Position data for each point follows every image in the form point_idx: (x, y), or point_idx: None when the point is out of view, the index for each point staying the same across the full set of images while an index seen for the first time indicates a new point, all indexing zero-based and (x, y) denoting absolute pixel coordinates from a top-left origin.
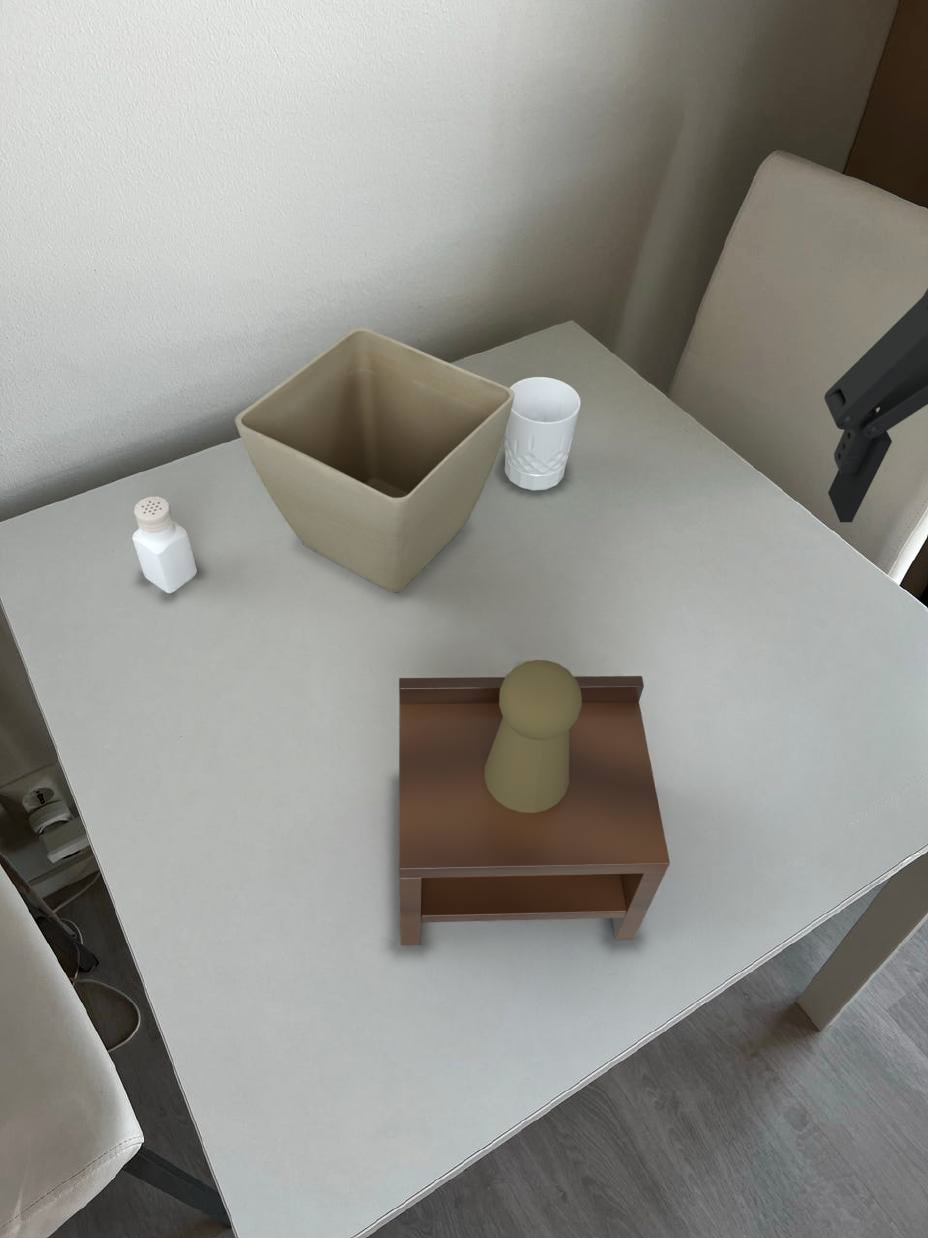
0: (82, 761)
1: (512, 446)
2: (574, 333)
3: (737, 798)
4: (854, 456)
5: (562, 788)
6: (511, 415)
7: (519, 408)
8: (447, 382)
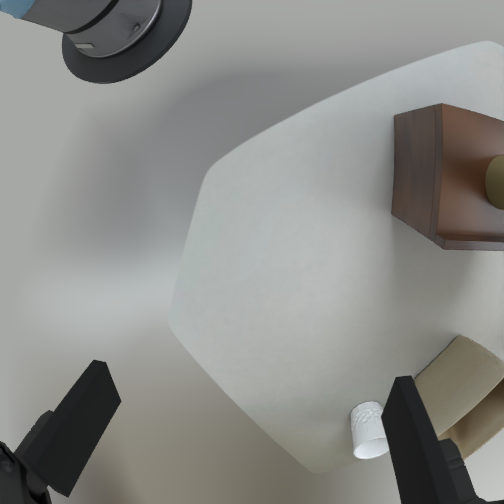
0: None
1: None
2: (312, 472)
3: (316, 197)
4: (454, 467)
5: (497, 164)
6: None
7: (377, 441)
8: None
